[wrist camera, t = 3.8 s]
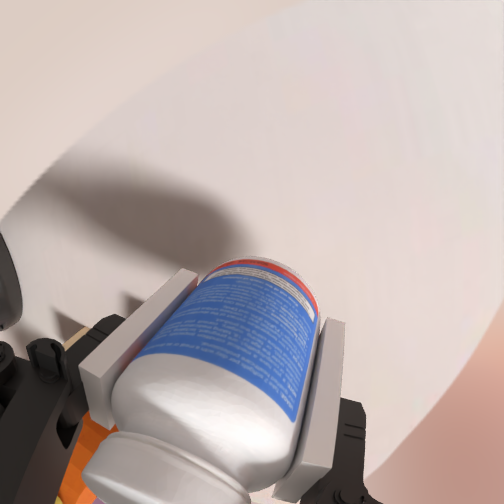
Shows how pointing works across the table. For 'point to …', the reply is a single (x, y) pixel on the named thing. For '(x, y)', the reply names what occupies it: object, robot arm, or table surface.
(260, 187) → the table surface
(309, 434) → the robot arm
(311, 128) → the table surface
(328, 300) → the table surface
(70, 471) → the alarm clock
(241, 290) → the pill bottle
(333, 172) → the table surface
